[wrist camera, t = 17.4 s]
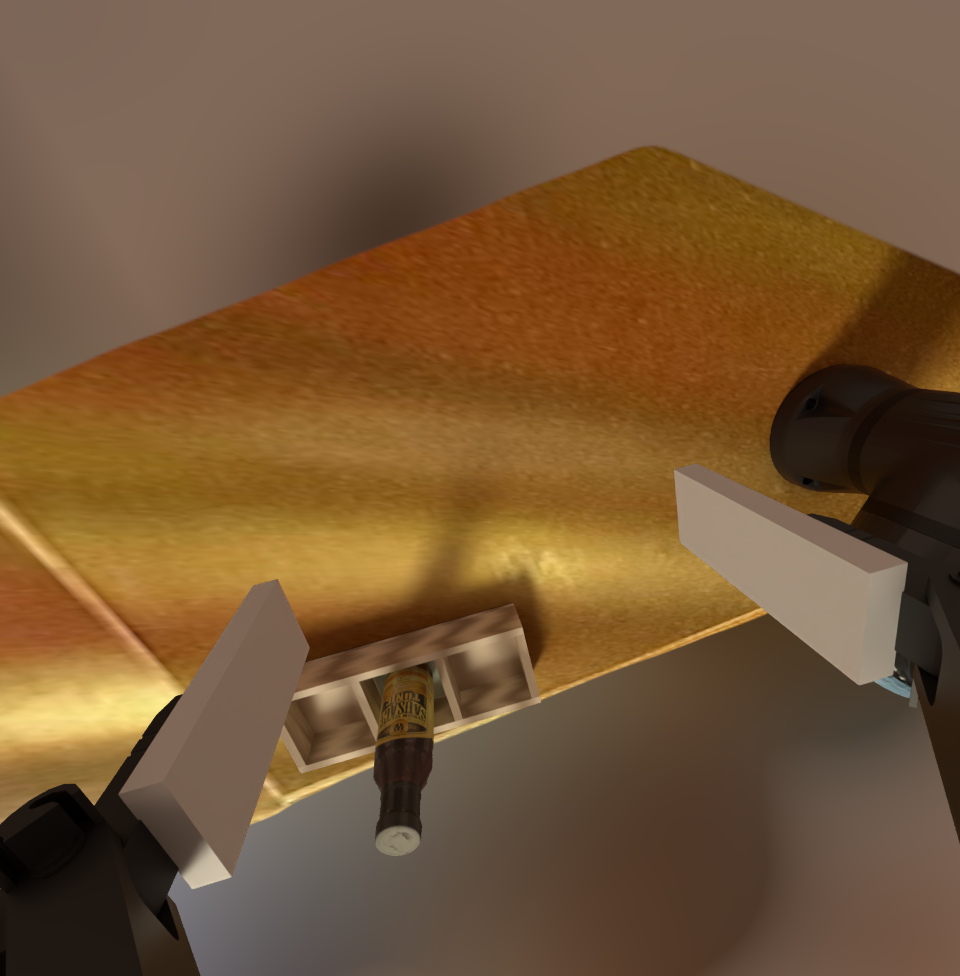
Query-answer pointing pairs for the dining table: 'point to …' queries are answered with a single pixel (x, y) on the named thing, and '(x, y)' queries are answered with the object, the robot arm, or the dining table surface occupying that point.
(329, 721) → the condiment rack
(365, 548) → the dining table surface
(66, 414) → the dining table surface
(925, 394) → the robot arm
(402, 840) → the sauce bottle
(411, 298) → the dining table surface
